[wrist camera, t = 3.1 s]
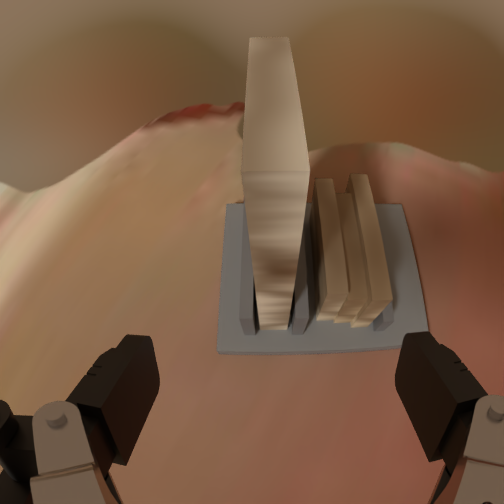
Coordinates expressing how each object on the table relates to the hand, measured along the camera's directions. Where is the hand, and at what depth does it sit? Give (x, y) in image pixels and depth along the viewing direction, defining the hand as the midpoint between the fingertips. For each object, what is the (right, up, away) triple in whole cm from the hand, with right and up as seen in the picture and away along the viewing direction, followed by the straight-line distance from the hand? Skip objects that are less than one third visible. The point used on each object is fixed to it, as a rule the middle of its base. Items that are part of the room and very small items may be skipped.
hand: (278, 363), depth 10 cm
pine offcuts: (+8, +2, +21) cm, 23 cm away
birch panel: (+1, +2, +22) cm, 22 cm away
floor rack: (+6, +1, +23) cm, 24 cm away
